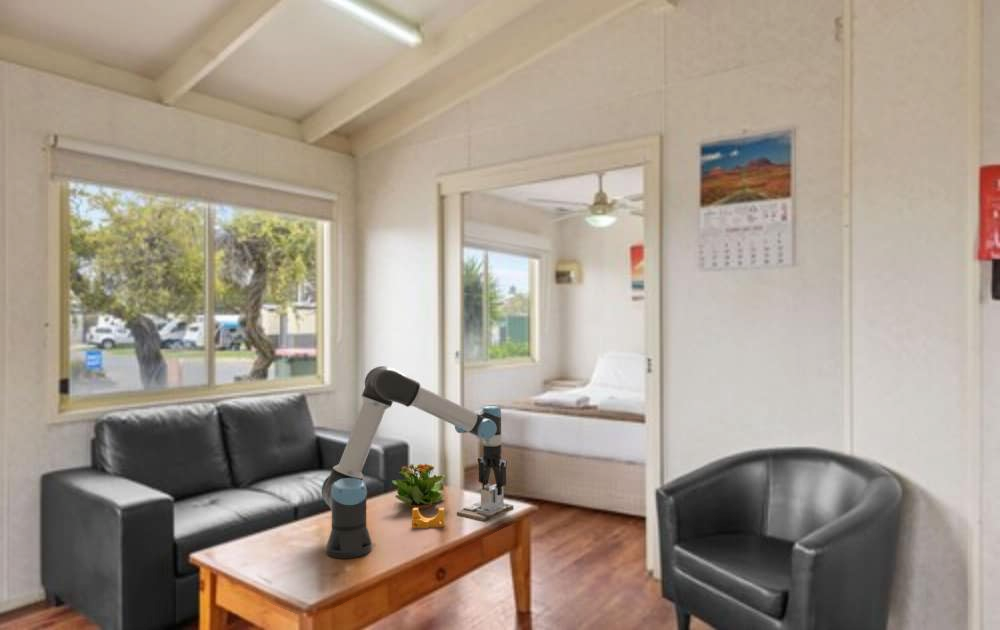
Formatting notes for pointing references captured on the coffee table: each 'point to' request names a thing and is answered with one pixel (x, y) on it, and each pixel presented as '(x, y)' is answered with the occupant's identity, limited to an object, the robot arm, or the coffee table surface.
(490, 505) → the leaf block
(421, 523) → the pipe clamp
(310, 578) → the coffee table surface
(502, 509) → the leaf seat
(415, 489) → the potted flower
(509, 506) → the hinge board
